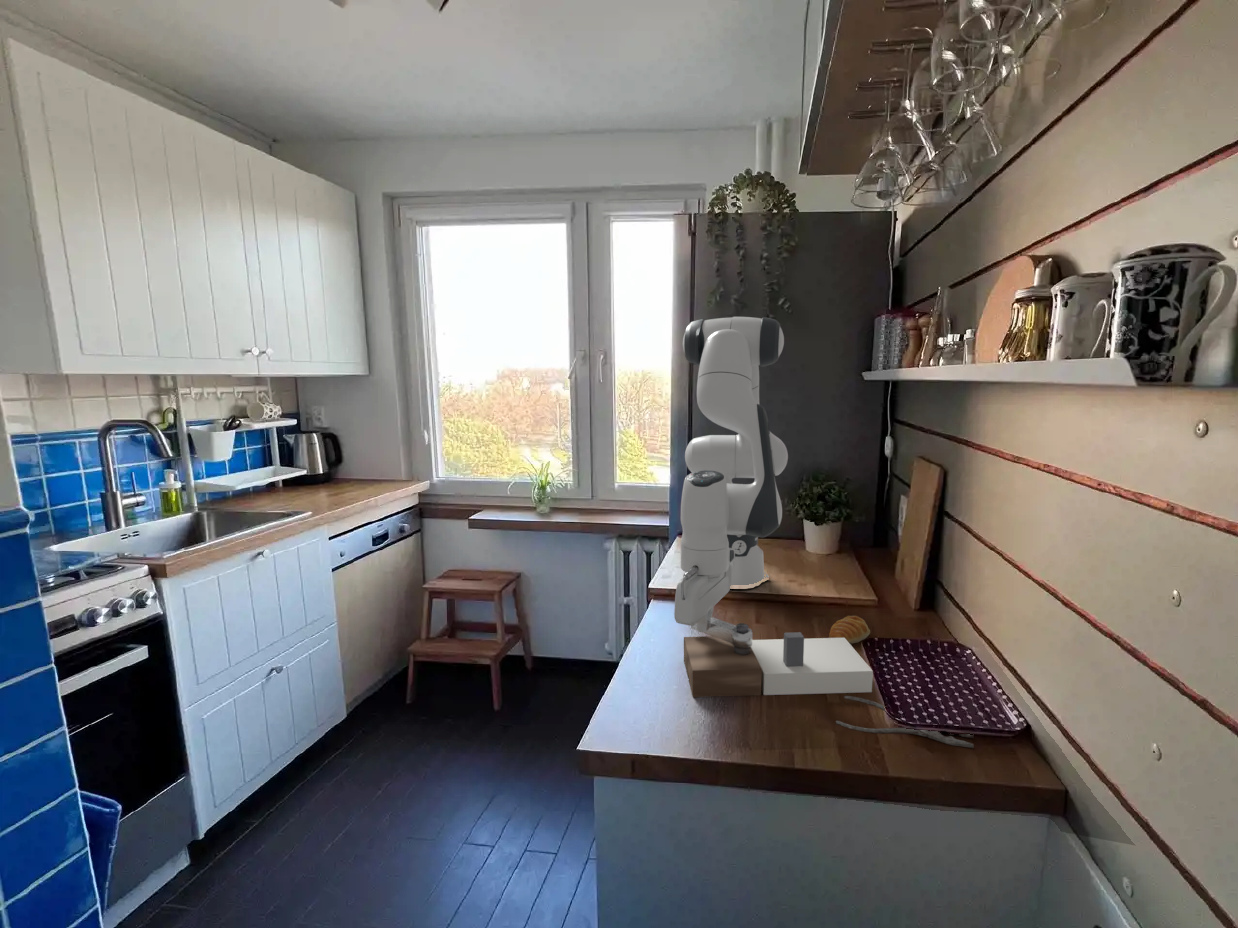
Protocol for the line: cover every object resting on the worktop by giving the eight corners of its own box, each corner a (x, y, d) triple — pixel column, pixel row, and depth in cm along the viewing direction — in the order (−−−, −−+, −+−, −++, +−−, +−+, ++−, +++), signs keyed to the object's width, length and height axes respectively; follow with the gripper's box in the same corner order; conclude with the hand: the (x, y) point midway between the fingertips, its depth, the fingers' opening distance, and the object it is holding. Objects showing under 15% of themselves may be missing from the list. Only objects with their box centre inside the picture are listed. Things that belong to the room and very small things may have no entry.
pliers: (834, 693, 106) (963, 710, 100) (834, 697, 106) (963, 715, 100) (835, 724, 97) (978, 746, 90) (835, 729, 97) (977, 751, 91)
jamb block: (683, 660, 119) (683, 631, 118) (744, 659, 119) (745, 629, 118) (692, 696, 106) (692, 663, 105) (761, 695, 106) (761, 662, 105)
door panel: (747, 659, 119) (748, 613, 117) (843, 656, 119) (845, 610, 118) (763, 694, 106) (765, 644, 105) (871, 692, 106) (874, 641, 105)
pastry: (850, 651, 122) (851, 633, 121) (820, 640, 127) (820, 623, 126) (871, 636, 128) (872, 619, 128) (841, 626, 133) (842, 610, 132)
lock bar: (756, 643, 111) (756, 622, 111) (745, 650, 109) (745, 629, 108) (700, 623, 120) (700, 604, 120) (689, 629, 118) (688, 609, 117)
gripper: (699, 578, 102) (699, 656, 104) (738, 547, 119) (737, 614, 121) (665, 573, 105) (665, 648, 107) (707, 543, 122) (707, 608, 124)
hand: (703, 630), depth 114 cm, fingers closed
